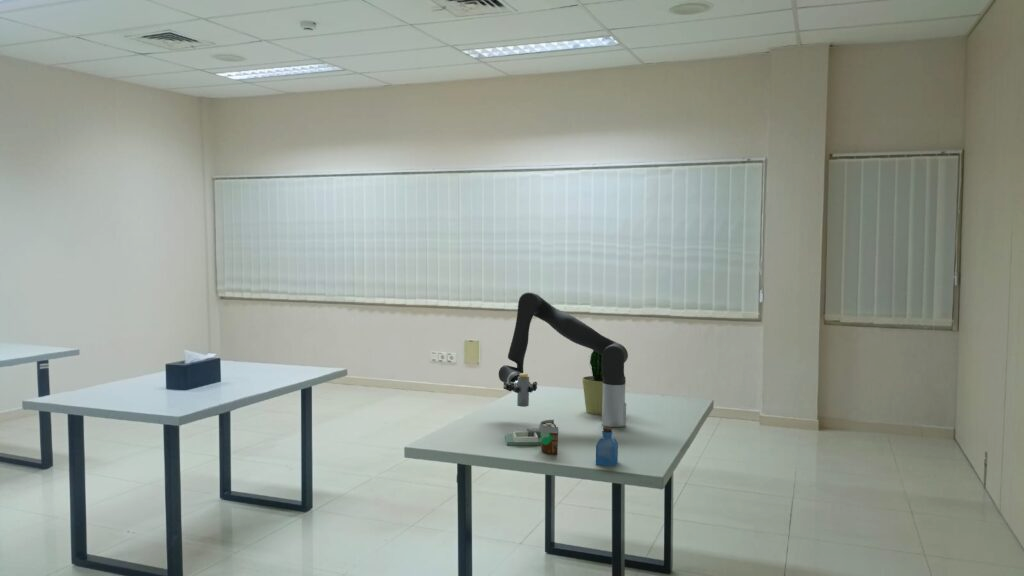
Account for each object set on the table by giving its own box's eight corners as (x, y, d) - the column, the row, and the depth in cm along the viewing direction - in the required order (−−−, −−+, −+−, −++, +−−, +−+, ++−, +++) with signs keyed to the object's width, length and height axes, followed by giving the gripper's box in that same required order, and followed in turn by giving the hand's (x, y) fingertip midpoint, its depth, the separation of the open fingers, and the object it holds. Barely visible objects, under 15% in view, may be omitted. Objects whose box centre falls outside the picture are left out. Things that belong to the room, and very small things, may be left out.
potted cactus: (580, 414, 321) (581, 346, 319) (582, 407, 336) (583, 341, 334) (616, 416, 318) (617, 347, 317) (616, 408, 334) (618, 343, 332)
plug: (528, 404, 286) (528, 373, 285) (529, 406, 281) (529, 375, 281) (516, 404, 285) (517, 372, 285) (517, 406, 281) (518, 374, 280)
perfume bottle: (617, 461, 249) (618, 426, 249) (614, 466, 244) (614, 430, 243) (599, 459, 251) (600, 424, 251) (595, 464, 246) (596, 429, 245)
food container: (536, 446, 267) (536, 419, 266) (553, 446, 267) (553, 419, 267) (540, 456, 254) (540, 427, 254) (558, 456, 255) (558, 427, 255)
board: (541, 436, 281) (541, 428, 281) (545, 445, 269) (545, 436, 268) (504, 437, 280) (504, 428, 280) (507, 445, 268) (507, 436, 267)
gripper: (499, 372, 296) (506, 380, 279) (534, 372, 298) (543, 380, 281) (499, 391, 296) (505, 400, 279) (534, 390, 298) (542, 399, 281)
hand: (524, 390), depth 280 cm, fingers closed on plug, 4 cm apart
